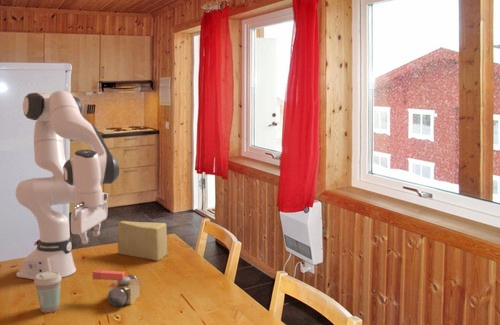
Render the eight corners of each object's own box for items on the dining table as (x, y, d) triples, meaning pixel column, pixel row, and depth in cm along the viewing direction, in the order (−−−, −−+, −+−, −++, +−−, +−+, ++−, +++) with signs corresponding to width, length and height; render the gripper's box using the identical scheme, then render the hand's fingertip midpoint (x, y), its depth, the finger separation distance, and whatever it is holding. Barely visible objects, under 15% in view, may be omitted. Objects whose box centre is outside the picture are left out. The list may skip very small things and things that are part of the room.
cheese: (112, 256, 219) (111, 223, 217) (124, 249, 229) (123, 218, 226) (157, 262, 213) (156, 228, 210) (168, 254, 222) (167, 222, 219)
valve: (106, 306, 170) (105, 288, 169) (121, 290, 183) (120, 274, 182) (128, 308, 169) (127, 289, 168) (142, 292, 182) (141, 275, 181)
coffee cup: (41, 303, 172) (38, 270, 171) (66, 302, 173) (64, 269, 171) (32, 315, 164) (29, 280, 162) (59, 314, 165) (56, 279, 163)
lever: (132, 280, 177) (132, 270, 176) (127, 285, 172) (127, 275, 172) (97, 278, 179) (97, 268, 178) (91, 282, 174) (91, 273, 174)
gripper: (83, 207, 155) (85, 249, 157) (110, 193, 175) (112, 231, 177) (64, 206, 156) (66, 249, 158) (93, 192, 176) (95, 230, 178)
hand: (90, 239), depth 168 cm, fingers open, 7 cm apart
